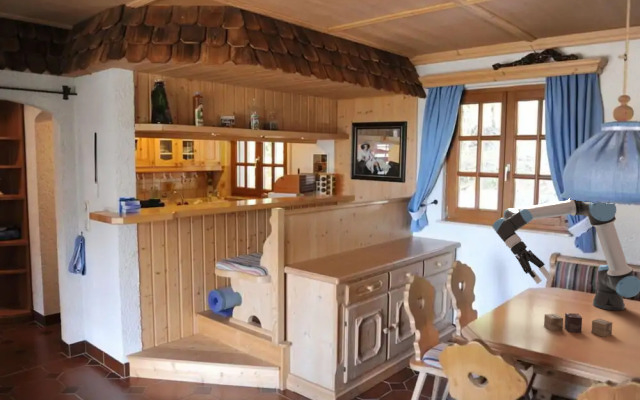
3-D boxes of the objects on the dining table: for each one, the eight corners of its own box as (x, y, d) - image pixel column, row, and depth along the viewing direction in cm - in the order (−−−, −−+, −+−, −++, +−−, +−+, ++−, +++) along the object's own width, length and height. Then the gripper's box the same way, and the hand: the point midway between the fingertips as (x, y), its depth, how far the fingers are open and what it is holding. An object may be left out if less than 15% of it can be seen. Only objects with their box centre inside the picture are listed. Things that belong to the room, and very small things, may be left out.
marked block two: (555, 325, 241) (556, 313, 241) (562, 330, 235) (563, 317, 235) (544, 326, 241) (544, 313, 240) (550, 330, 235) (551, 318, 234)
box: (581, 332, 232) (582, 317, 231) (567, 331, 233) (568, 316, 233) (577, 328, 238) (578, 313, 237) (564, 327, 239) (565, 312, 239)
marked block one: (599, 330, 235) (599, 318, 235) (611, 334, 230) (612, 321, 229) (591, 332, 232) (592, 320, 232) (603, 337, 227) (604, 324, 226)
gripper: (521, 246, 264) (548, 279, 254) (499, 252, 247) (528, 288, 238) (531, 237, 259) (560, 271, 250) (510, 243, 243) (540, 280, 234)
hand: (544, 280), depth 244 cm, fingers open, 11 cm apart
